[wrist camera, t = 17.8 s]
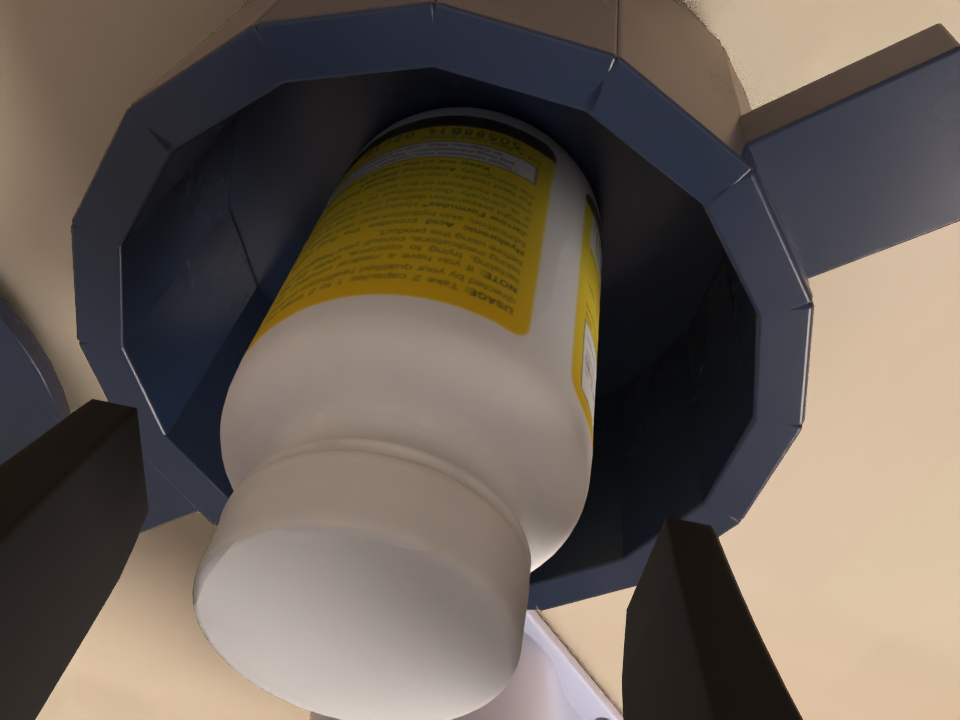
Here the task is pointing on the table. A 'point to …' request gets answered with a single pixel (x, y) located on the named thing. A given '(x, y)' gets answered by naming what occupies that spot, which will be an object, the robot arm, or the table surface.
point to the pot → (621, 202)
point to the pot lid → (25, 386)
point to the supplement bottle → (411, 426)
